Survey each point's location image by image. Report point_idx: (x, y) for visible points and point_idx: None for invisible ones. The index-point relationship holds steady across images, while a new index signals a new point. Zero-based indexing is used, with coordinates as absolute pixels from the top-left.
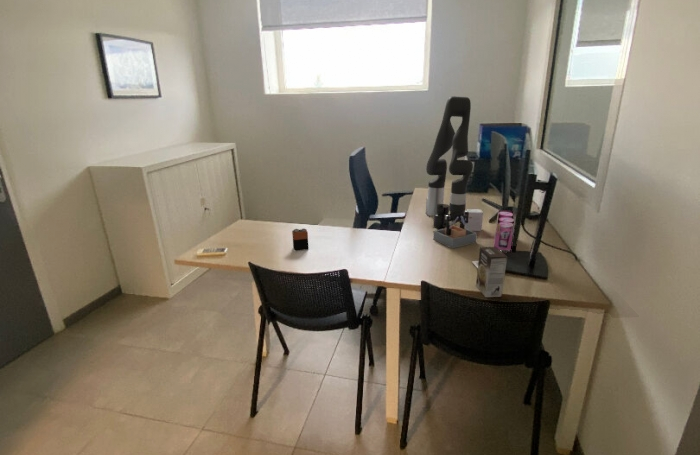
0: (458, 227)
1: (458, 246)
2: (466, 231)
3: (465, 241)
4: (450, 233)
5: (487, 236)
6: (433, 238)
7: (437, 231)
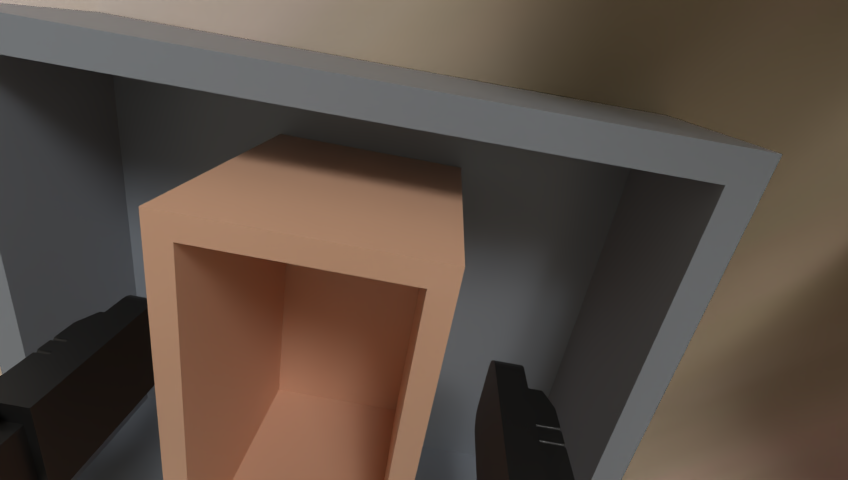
0: (397, 463)
1: None
2: (593, 427)
3: None
4: (128, 397)
5: (840, 472)
6: (80, 10)
7: (27, 53)
